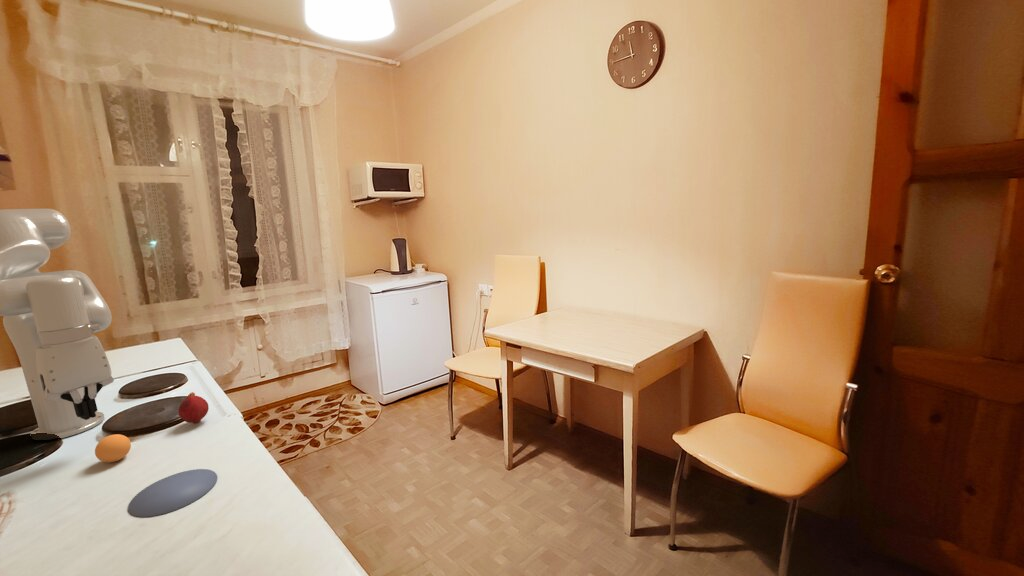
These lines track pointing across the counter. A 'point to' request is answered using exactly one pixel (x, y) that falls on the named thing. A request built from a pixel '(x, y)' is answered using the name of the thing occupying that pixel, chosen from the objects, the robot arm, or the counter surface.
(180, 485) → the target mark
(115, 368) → the counter surface
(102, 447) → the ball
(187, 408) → the onion
